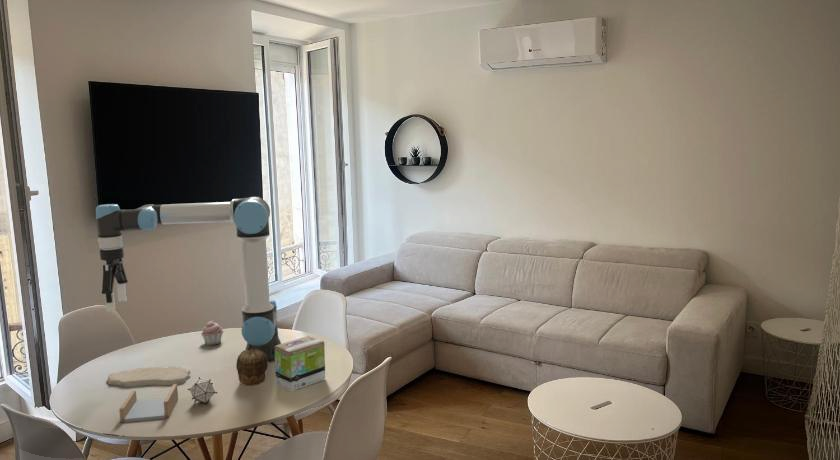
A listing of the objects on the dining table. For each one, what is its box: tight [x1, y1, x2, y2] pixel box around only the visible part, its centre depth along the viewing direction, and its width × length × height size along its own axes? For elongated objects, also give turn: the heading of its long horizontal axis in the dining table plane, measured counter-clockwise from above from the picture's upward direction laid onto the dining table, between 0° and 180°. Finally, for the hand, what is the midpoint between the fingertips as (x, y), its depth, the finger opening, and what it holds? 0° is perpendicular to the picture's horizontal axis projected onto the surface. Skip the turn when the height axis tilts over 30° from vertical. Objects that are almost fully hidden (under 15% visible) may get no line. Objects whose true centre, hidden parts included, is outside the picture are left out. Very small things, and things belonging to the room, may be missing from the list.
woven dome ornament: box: [235, 349, 269, 386], centre depth 224 cm, size 11×11×12 cm
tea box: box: [274, 335, 326, 393], centre depth 222 cm, size 15×10×15 cm
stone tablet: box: [107, 366, 191, 388], centre depth 231 cm, size 16×30×2 cm, turn 92°
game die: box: [187, 376, 218, 406], centre depth 208 cm, size 9×8×10 cm
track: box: [118, 384, 179, 423], centre depth 203 cm, size 14×14×6 cm
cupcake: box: [200, 320, 225, 346], centre depth 267 cm, size 9×9×10 cm
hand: (117, 306), depth 225 cm, fingers open, 13 cm apart
